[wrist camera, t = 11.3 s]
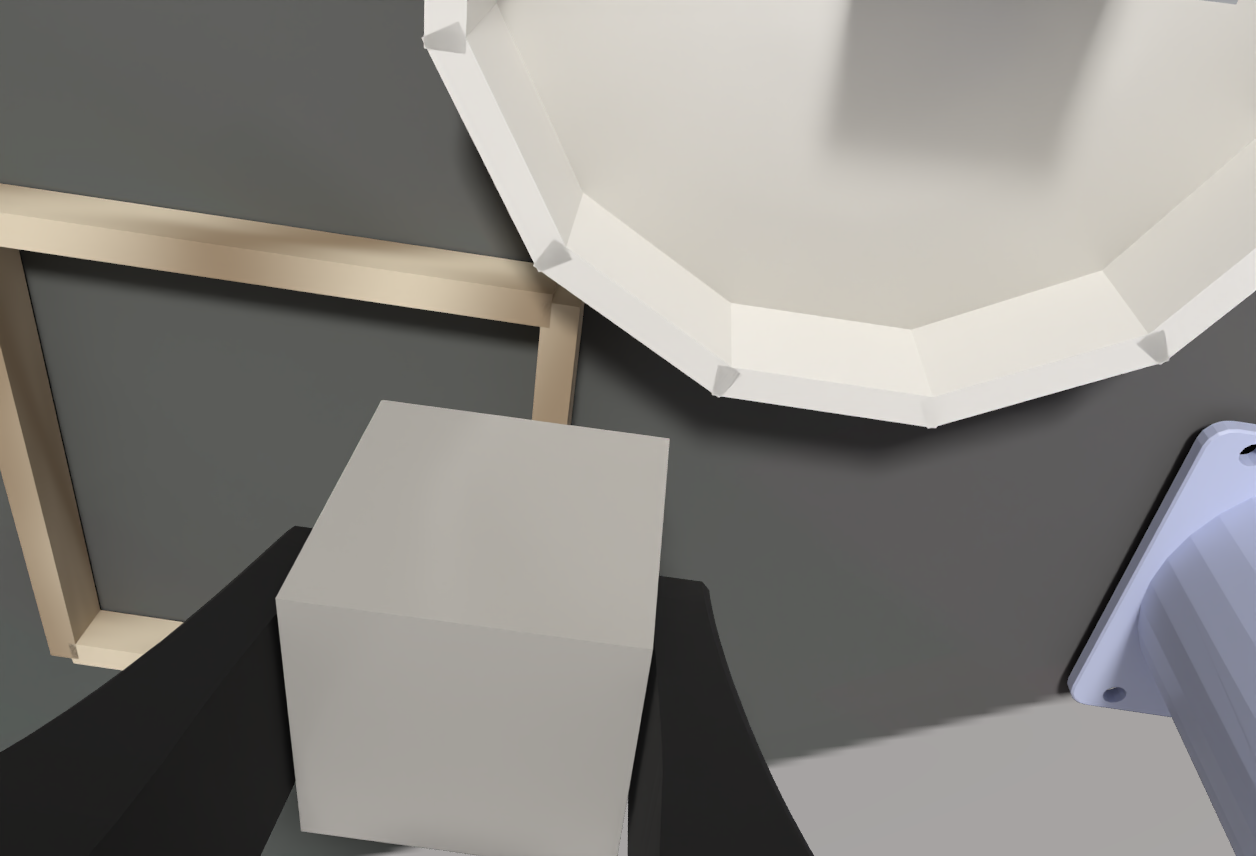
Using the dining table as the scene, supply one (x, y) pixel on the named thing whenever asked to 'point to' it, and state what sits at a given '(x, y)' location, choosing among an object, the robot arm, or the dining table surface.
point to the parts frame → (229, 250)
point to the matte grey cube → (1225, 1)
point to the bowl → (874, 184)
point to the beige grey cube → (475, 634)
